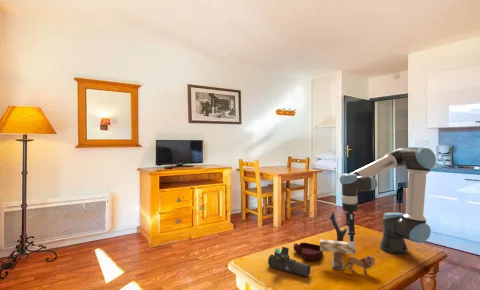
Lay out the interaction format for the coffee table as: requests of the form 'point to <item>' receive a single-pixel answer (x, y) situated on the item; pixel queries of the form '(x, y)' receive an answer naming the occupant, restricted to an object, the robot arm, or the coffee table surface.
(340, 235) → the antler
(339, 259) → the pedestal
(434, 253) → the coffee table surface
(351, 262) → the lion figurine
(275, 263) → the laser sight
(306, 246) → the ashtray
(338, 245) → the block
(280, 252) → the candy
